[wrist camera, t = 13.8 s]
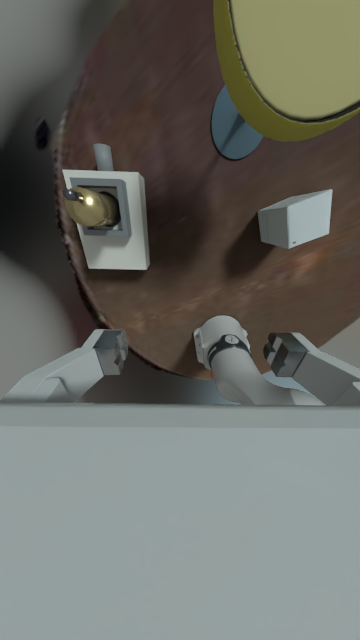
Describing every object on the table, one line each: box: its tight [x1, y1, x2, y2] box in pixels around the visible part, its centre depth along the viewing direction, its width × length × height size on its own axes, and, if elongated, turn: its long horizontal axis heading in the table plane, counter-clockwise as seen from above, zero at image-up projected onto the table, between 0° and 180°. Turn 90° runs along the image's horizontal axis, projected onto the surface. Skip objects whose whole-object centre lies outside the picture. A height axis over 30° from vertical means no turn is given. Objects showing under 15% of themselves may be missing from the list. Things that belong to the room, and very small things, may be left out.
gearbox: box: [62, 144, 150, 270], centre depth 35 cm, size 22×14×9 cm, turn 179°
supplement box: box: [258, 189, 332, 249], centre depth 34 cm, size 7×7×13 cm
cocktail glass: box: [211, 0, 360, 159], centre depth 20 cm, size 18×18×25 cm
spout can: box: [63, 187, 119, 227], centre depth 28 cm, size 5×5×13 cm
